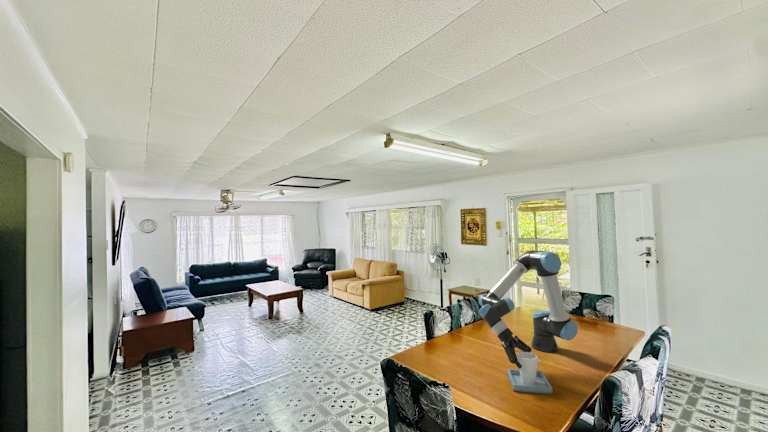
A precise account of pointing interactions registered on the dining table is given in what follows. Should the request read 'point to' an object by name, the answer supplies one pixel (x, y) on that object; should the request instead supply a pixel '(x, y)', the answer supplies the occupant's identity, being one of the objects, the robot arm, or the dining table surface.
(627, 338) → the dining table surface
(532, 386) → the tray
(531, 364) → the foam cup
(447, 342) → the dining table surface
